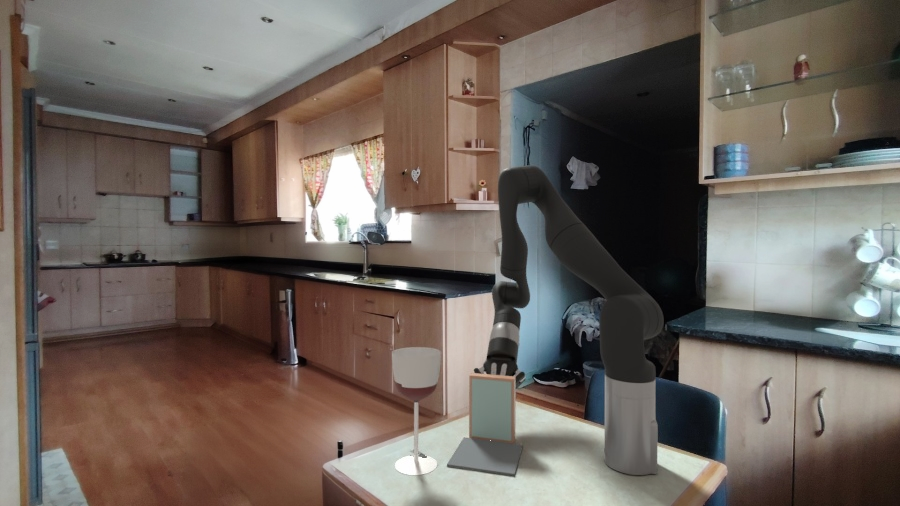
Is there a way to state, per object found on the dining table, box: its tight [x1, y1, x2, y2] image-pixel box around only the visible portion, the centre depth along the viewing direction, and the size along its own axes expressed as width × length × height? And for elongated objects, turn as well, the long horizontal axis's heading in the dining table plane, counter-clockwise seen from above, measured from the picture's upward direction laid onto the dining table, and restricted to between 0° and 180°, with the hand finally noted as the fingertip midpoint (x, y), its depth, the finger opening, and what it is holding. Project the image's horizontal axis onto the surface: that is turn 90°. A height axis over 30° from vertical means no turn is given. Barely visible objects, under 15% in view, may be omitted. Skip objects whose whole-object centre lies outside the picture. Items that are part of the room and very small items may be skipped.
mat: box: [446, 437, 524, 477], centre depth 90 cm, size 13×13×1 cm
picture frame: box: [468, 372, 517, 444], centre depth 98 cm, size 10×2×14 cm, turn 74°
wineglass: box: [391, 346, 442, 476], centre depth 86 cm, size 9×10×22 cm
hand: (494, 408), depth 101 cm, fingers closed
